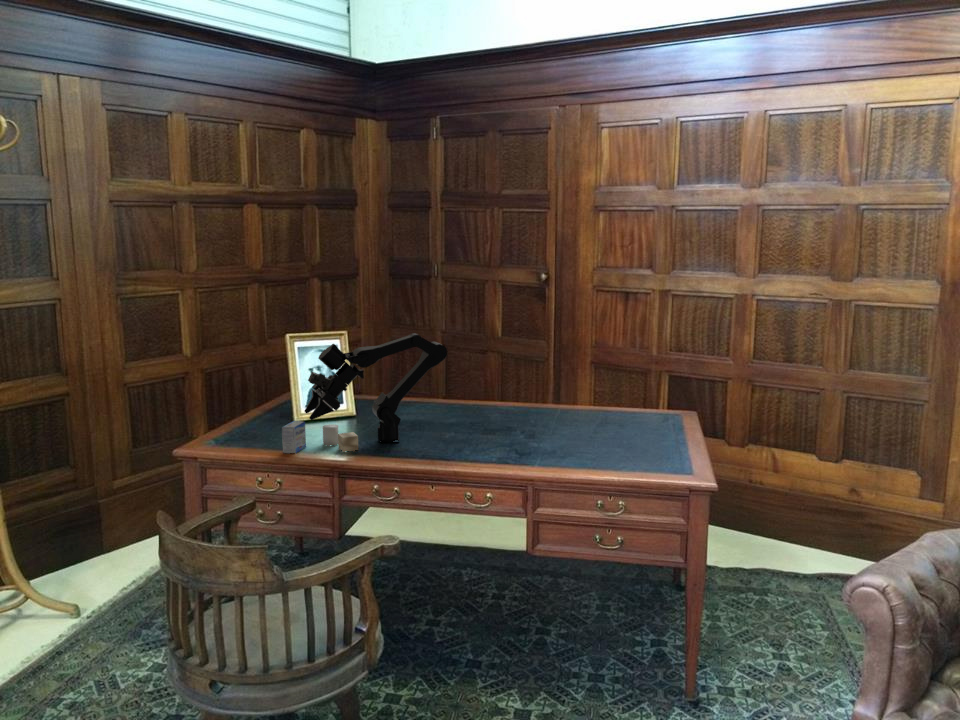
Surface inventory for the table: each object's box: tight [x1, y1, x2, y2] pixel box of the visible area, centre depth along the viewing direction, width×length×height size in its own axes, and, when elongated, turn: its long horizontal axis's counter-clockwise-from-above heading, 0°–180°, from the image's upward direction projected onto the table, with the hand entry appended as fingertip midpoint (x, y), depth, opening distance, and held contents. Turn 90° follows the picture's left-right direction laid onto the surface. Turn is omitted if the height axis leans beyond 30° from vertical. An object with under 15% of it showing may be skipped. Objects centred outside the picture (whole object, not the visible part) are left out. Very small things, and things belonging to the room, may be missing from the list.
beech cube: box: [337, 431, 359, 453], centre depth 254 cm, size 5×5×5 cm
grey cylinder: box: [322, 423, 339, 447], centre depth 260 cm, size 5×5×6 cm
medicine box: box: [281, 420, 307, 454], centre depth 253 cm, size 8×4×9 cm, turn 167°
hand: (307, 415), depth 253 cm, fingers open, 9 cm apart
